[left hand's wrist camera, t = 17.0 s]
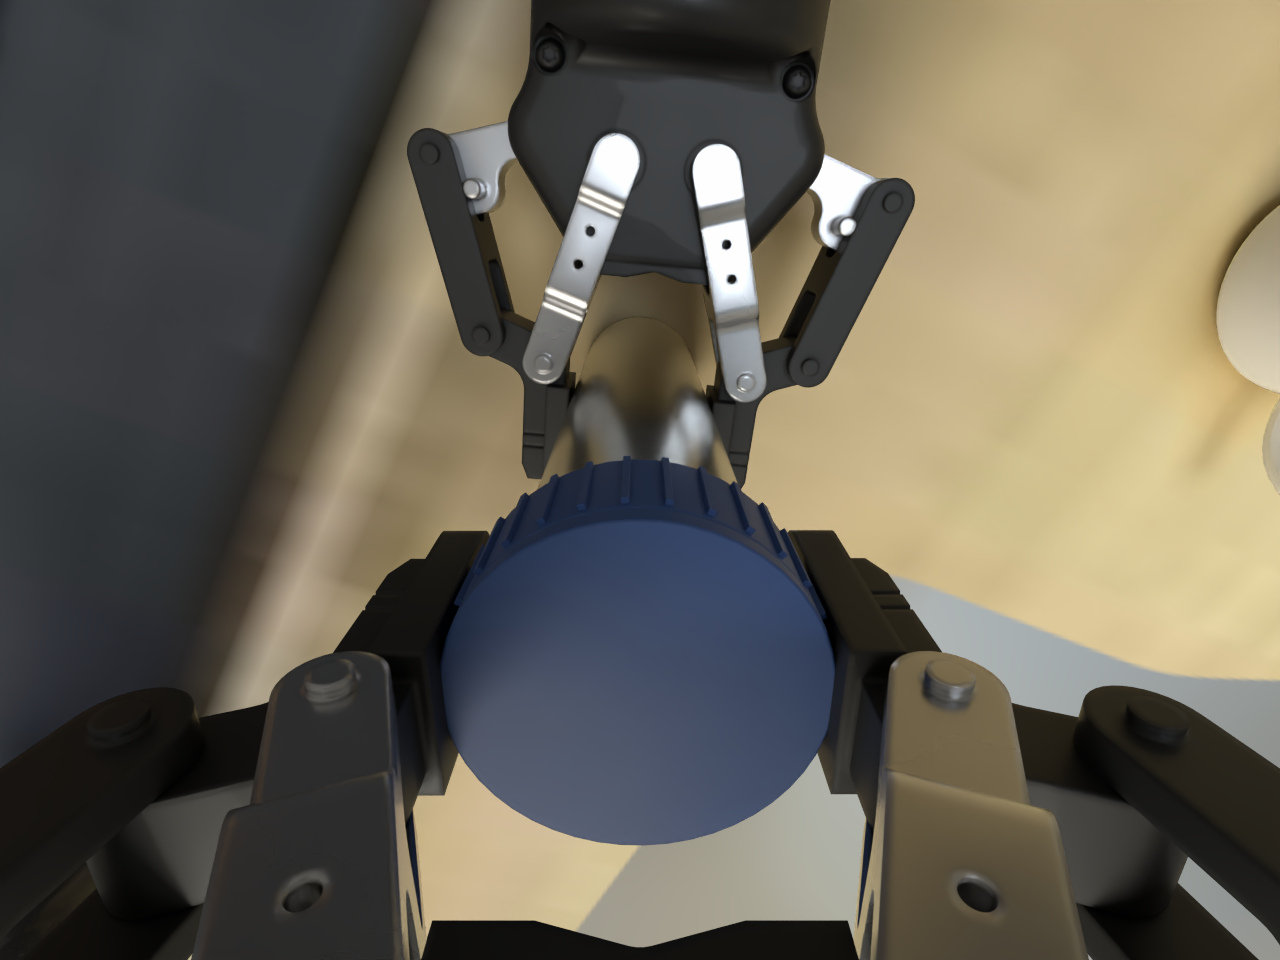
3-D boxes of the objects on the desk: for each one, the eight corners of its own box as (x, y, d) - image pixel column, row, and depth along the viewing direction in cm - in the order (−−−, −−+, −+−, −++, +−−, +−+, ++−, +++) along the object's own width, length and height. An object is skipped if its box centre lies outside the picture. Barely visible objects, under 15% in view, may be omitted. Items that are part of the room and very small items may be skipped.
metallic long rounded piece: (681, 429, 28) (755, 801, 10) (579, 413, 28) (472, 766, 10) (702, 326, 27) (828, 551, 9) (593, 308, 27) (496, 502, 9)
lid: (863, 521, 10) (919, 596, 8) (725, 776, 12) (742, 888, 10) (528, 401, 10) (499, 450, 8) (435, 689, 11) (390, 791, 9)
